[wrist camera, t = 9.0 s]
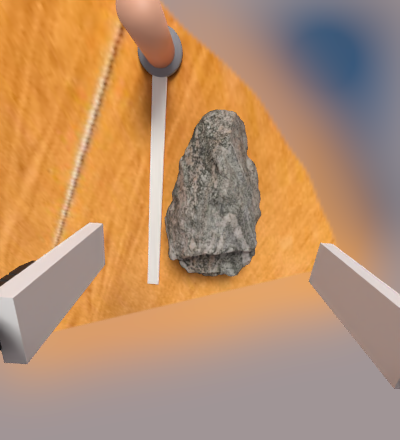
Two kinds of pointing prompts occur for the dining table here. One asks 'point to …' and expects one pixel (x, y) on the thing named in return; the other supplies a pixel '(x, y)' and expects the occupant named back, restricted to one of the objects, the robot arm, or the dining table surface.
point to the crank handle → (153, 98)
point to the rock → (215, 199)
